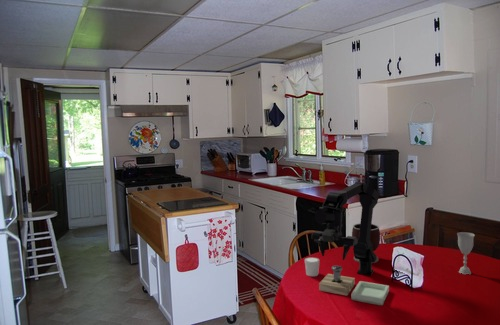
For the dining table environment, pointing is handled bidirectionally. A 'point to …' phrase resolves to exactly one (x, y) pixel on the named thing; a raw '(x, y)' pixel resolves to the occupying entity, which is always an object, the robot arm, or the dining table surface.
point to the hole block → (337, 285)
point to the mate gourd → (373, 236)
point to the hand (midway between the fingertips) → (333, 258)
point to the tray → (370, 293)
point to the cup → (312, 266)
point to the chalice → (465, 248)
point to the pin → (337, 273)
